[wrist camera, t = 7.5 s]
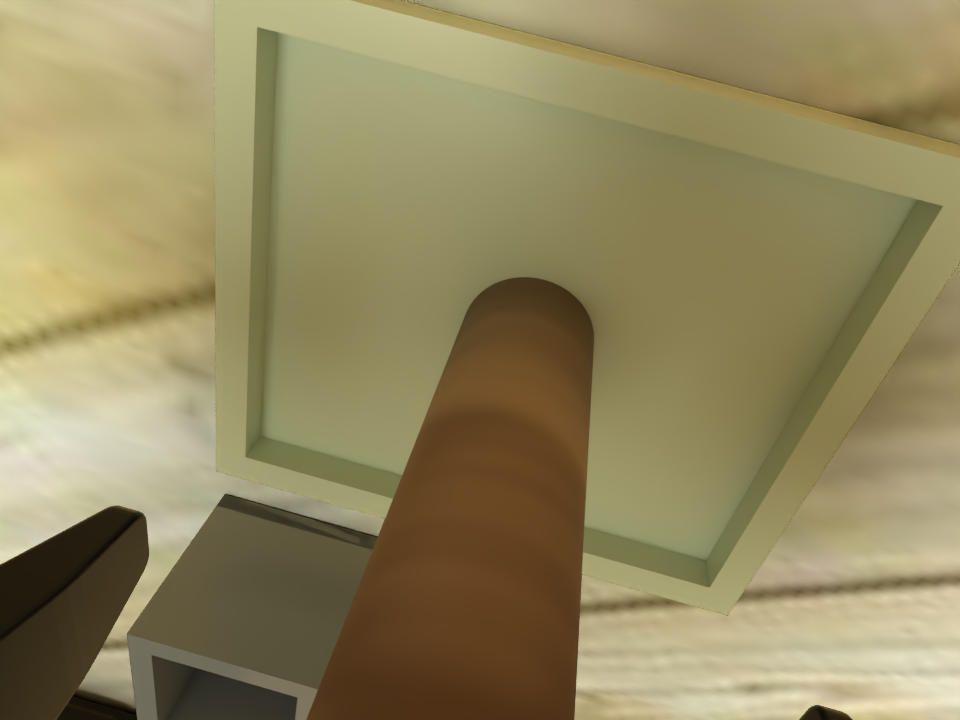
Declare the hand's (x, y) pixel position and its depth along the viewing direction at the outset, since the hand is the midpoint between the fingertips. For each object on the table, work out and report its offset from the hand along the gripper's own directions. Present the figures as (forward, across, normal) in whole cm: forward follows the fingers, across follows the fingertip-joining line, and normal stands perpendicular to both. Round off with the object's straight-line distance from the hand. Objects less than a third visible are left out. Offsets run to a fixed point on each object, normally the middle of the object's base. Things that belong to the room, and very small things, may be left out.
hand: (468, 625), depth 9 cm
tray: (+8, 0, 0) cm, 8 cm away
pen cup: (+8, +5, +11) cm, 15 cm away
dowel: (+8, 0, 0) cm, 8 cm away
